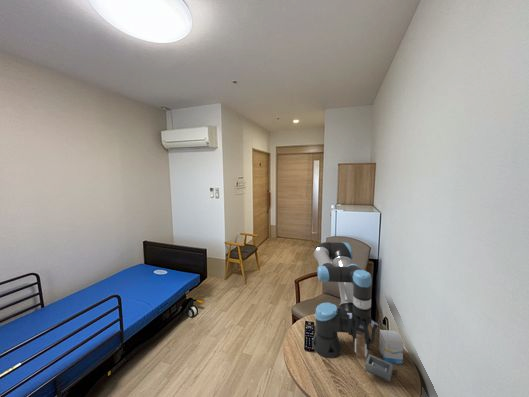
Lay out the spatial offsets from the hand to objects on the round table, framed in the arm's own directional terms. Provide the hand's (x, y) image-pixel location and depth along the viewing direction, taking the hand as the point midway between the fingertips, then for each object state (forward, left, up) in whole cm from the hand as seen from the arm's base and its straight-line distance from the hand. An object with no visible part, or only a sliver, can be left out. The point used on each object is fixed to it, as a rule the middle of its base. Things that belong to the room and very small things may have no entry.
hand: (361, 352), depth 98 cm
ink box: (+9, +21, -12) cm, 26 cm away
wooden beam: (0, 0, -2) cm, 2 cm away
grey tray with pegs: (+6, +8, -12) cm, 16 cm away
